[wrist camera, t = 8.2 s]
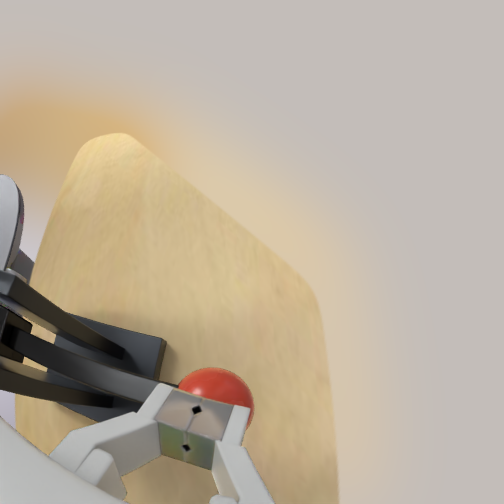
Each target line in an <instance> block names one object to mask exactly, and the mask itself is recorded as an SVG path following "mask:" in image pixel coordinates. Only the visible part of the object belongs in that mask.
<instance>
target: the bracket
mask: <svg viewBox="0 0 504 504" xmlns="http://www.w3.org/2000/svg"><path fill="white" fill-rule="evenodd" d="M0 301H1V302H2V303H4V304H5V305H7V306H8V307H10V308H12V309H13V310H15V311H16V312H18V313H20V314H21V315H23V316H24V317H26V318H28V319H29V320H31V321H33V322H35V323H36V324H38V325H40V326H42V327H43V328H45V329H47V330H49V331H51V332H52V333H54V334H56V338H55V342H54V345H57V346H59V347H61V348H64V349H66V350H69V351H71V352H74V353H76V354H79V355H81V356H84V357H87V358H89V359H92V360H95V361H98V362H100V363H103V364H106V365H109V366H112V367H115V368H118V369H121V370H125V371H128V372H131V373H134V374H138V375H141V376H145V377H148V378H152V379H156V380H158V378H159V373H160V369H161V364H162V360H163V355H164V351H165V346H166V341H165V340H164V339H162V338H159V337H155V336H150V335H146V334H142V333H138V332H134V331H130V330H126V329H122V328H118V327H115V326H111V325H107V324H104V323H100V322H97V321H93V320H90V319H87V318H83V317H80V316H77V315H74V314H71V313H67V312H65V311H63V310H62V309H60V308H59V307H57V306H56V305H55V304H53V303H52V302H50V301H49V300H48V299H46V298H45V297H44V296H42V295H41V294H39V293H38V292H37V291H35V290H34V289H33V288H32V287H30V286H29V285H28V284H27V280H26V279H25V278H24V277H23V276H22V275H20V274H19V273H17V272H15V271H13V270H11V269H8V268H7V269H6V270H5V271H2V270H0ZM0 390H4V391H8V392H12V393H16V394H20V395H24V396H29V397H34V398H39V399H44V400H49V401H55V402H57V403H59V404H61V405H63V406H65V407H67V408H69V409H71V410H73V411H75V412H77V413H79V414H82V415H84V416H86V417H88V418H91V419H93V420H95V421H98V422H103V421H106V420H109V419H112V418H115V417H118V416H121V415H124V414H127V413H130V412H135V413H137V412H138V411H139V409H140V408H141V407H142V405H143V404H142V403H138V402H135V401H132V400H129V399H125V398H122V397H119V396H116V395H113V394H110V393H108V392H105V391H102V390H99V389H96V388H94V387H91V386H89V385H86V384H83V383H81V382H78V381H76V380H74V379H71V378H69V377H67V376H64V375H62V374H60V373H58V372H55V371H53V370H51V369H49V368H48V369H47V372H44V371H41V370H38V369H35V368H32V367H30V366H27V365H24V364H21V363H19V362H16V361H13V360H10V359H7V358H4V357H2V356H0Z"/></svg>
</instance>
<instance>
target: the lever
mask: <svg viewBox="0 0 504 504" xmlns="http://www.w3.org/2000/svg"><path fill="white" fill-rule="evenodd" d="M32 326H33V325H32V324H31V323H30V322H28V321H27V320H25V319H23V318H22V317H20V316H18V315H17V314H15V313H14V312H12V311H11V310H9V309H7V308H5V307H3V306H1V305H0V356H2V357H4V358H7V359H10V360H13V361H16V362H19V363H23V359H24V356H25V357H27V358H29V359H31V360H33V361H34V362H36V363H38V364H41V365H43V366H45V367H47V368H49V369H51V370H53V371H55V372H58V373H60V374H62V375H64V376H67V377H69V378H71V379H74V380H76V381H78V382H81V383H83V384H86V385H89V386H91V387H94V388H96V389H99V390H102V391H105V392H108V393H110V394H113V395H116V396H119V397H122V398H125V399H129V400H132V401H135V402H138V403H142V404H144V403H145V401H146V400H147V398H148V397H149V396H150V394H151V393H152V391H153V390H154V389H155V387H156V386H157V385H158V384H160V383H163V384H166V385H169V386H171V387H174V388H178V389H181V390H184V391H187V392H190V393H193V394H196V395H199V396H202V397H206V398H210V399H214V400H218V401H222V402H226V403H230V404H234V405H238V406H243V407H247V408H250V414H249V418H248V422H247V426H246V429H247V428H248V427H249V425H250V423H251V421H252V418H253V415H254V400H253V396H252V393H251V391H250V389H249V387H248V386H247V384H246V383H245V382H244V381H243V380H242V379H241V378H240V377H239V376H237V375H236V374H234V373H232V372H230V371H228V370H225V369H221V368H203V369H199V370H196V371H194V372H192V373H190V374H189V375H187V376H186V377H185V378H184V379H183V380H182V381H181V382H180V383H179V385H175V384H171V383H167V382H163V381H159V380H156V379H152V378H148V377H145V376H141V375H138V374H134V373H131V372H128V371H125V370H121V369H118V368H115V367H112V366H109V365H106V364H103V363H100V362H98V361H95V360H92V359H89V358H87V357H84V356H81V355H79V354H76V353H74V352H71V351H69V350H66V349H64V348H61V347H59V346H57V345H54V344H52V343H50V342H47V341H45V340H43V339H41V338H39V337H36V336H34V335H32V334H30V333H31V330H32ZM245 431H246V430H245Z"/></svg>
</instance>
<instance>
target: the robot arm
mask: <svg viewBox="0 0 504 504" xmlns="http://www.w3.org/2000/svg"><path fill="white" fill-rule="evenodd" d="M249 414H250V408H247V407H243V406H238V405H234V404H230V403H226V402H222V401H218V400H214V399H210V398H206V397H202V396H199V395H196V394H193V393H190V392H187V391H184V390H181V389H178V388H174V387H171V386H169V385H166V384H163V383H160V384H158V385H157V386H156V387H155V389H154V390H153V391H152V393H151V394H150V396H149V397H148V398H147V400H146V401H145V403H144V404H143V405H142V407H141V408H140V409H139V411H138V412H137V413H135V412H130V413H127V414H124V415H121V416H118V417H115V418H112V419H109V420H106V421H103V422H100V423H97V424H93V425H90V426H86V427H83V428H80V429H76V430H72V431H70V433H69V434H68V435H67V436H66V437H65V438H64V439H63V440H62V441H61V443H60V444H59V445H58V446H57V447H56V448H55V449H54V450H53V451H52V453H51V454H50V455H49V456H47V455H46V454H45V453H43V452H42V451H41V450H39V449H38V448H37V447H36V446H34V445H33V444H32V443H30V442H29V441H28V440H27V439H26V438H24V437H23V436H22V435H21V434H20V433H18V432H17V431H16V430H15V429H14V428H13V427H12V426H11V425H9V424H8V423H7V422H6V421H5V420H4V419H3V418H2V417H1V416H0V504H130V503H127V502H125V501H123V500H124V498H125V496H126V495H127V492H126V489H125V487H124V485H123V482H122V480H121V478H120V477H121V476H123V475H125V474H127V473H129V472H131V471H133V470H135V469H137V468H139V467H141V466H143V465H145V464H146V463H148V462H150V461H152V460H154V459H156V458H157V457H159V456H161V454H162V455H165V456H168V457H171V458H174V459H177V460H180V461H183V462H187V463H190V464H193V465H196V466H199V467H202V468H205V469H208V470H212V475H213V478H214V481H215V483H216V486H217V489H218V492H219V495H218V494H217V495H214V496H212V497H211V499H210V502H209V504H275V502H274V500H273V499H272V497H271V495H270V493H269V491H268V490H267V488H266V486H265V484H264V482H263V481H262V479H261V477H260V475H259V473H258V471H257V469H256V467H255V466H254V464H253V462H252V460H251V458H250V456H249V454H248V452H247V450H246V448H245V447H241V445H242V442H243V438H244V434H245V430H246V426H247V422H248V418H249Z"/></svg>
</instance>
